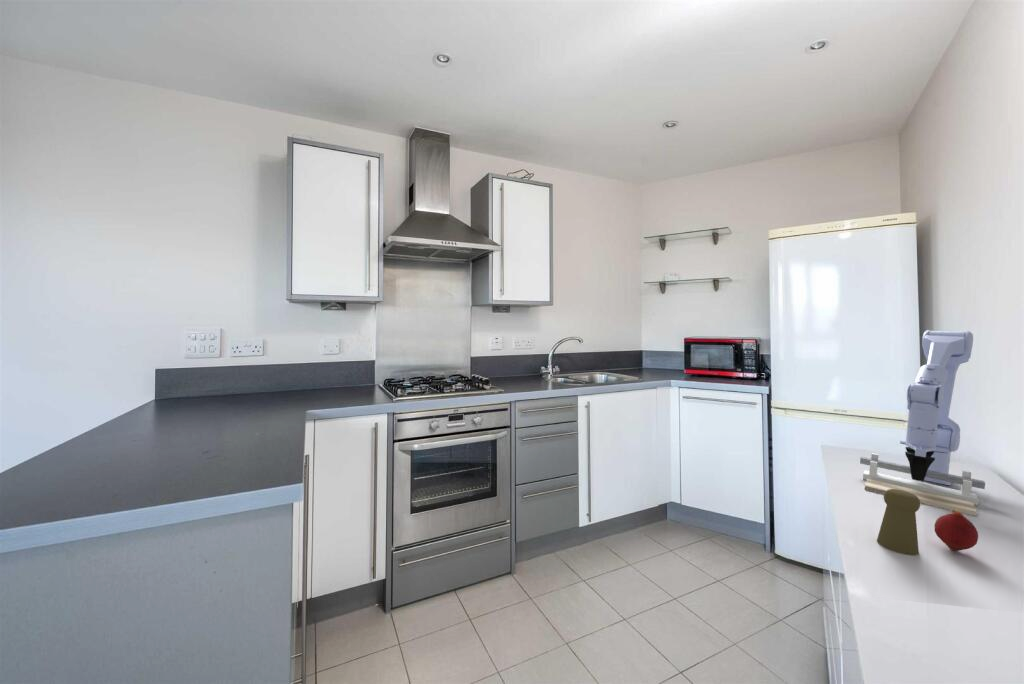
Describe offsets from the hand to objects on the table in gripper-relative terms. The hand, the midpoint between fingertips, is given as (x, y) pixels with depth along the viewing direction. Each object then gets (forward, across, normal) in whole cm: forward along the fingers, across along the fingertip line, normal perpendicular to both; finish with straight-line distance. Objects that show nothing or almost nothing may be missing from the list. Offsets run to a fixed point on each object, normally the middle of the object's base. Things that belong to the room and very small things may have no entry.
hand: (917, 477), depth 113 cm
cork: (+3, +47, -3) cm, 47 cm away
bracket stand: (+3, 0, 0) cm, 3 cm away
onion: (+3, +40, +5) cm, 40 cm away
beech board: (+3, +8, 0) cm, 9 cm away
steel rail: (-1, 0, 0) cm, 1 cm away
